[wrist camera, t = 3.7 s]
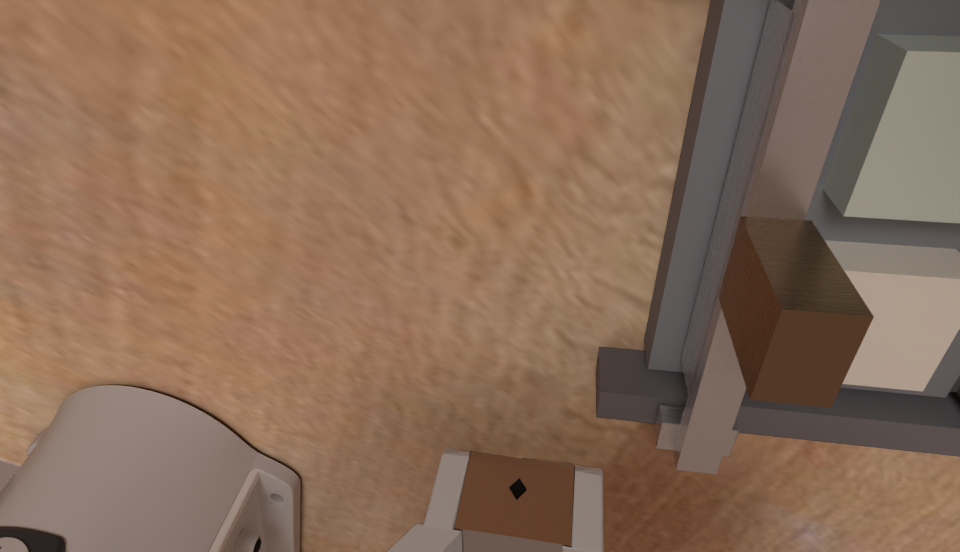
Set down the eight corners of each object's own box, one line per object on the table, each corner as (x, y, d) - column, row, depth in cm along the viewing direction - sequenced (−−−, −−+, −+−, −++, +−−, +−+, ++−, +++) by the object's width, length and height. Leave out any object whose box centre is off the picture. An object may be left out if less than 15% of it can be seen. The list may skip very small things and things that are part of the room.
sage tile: (982, 197, 19) (1019, 227, 18) (822, 188, 20) (843, 216, 18) (1066, 38, 17) (1118, 56, 15) (877, 34, 17) (907, 50, 16)
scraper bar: (720, 418, 26) (761, 589, 20) (651, 411, 27) (671, 576, 20) (903, -146, 15) (1137, -160, 8) (777, -144, 15) (911, -156, 9)
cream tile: (899, 355, 23) (922, 391, 22) (767, 343, 24) (780, 377, 22) (956, 248, 21) (987, 281, 19) (804, 239, 21) (823, 269, 20)
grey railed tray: (973, 408, 27) (1012, 462, 24) (595, 371, 29) (596, 417, 26) (1345, -149, 15) (1492, -154, 13) (668, -140, 17) (680, -143, 15)
